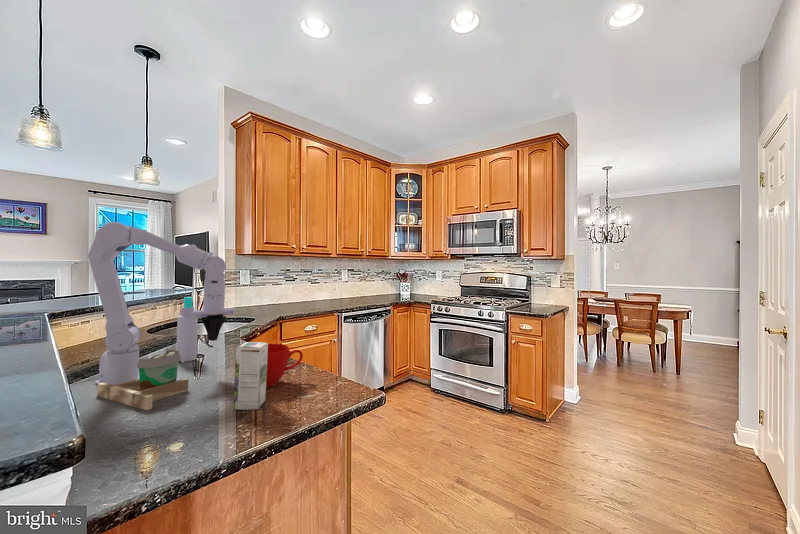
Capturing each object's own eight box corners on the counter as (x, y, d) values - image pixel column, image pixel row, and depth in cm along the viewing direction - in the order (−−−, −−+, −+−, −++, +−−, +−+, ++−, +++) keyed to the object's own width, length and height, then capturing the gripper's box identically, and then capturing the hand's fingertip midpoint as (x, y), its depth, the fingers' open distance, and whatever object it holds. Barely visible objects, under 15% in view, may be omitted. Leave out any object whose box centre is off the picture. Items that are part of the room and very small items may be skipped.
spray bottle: (175, 363, 119) (177, 298, 120) (176, 359, 125) (178, 296, 125) (196, 361, 122) (198, 297, 123) (196, 357, 127) (198, 296, 128)
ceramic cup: (306, 386, 99) (307, 350, 99) (239, 394, 91) (241, 355, 91) (298, 373, 110) (298, 341, 110) (238, 380, 103) (239, 345, 103)
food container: (162, 401, 85) (163, 359, 85) (135, 401, 85) (137, 359, 85) (190, 385, 97) (191, 348, 98) (167, 385, 97) (168, 348, 97)
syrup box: (241, 401, 86) (243, 341, 87) (266, 401, 87) (268, 341, 87) (232, 410, 81) (234, 346, 81) (259, 410, 81) (261, 346, 81)
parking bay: (97, 395, 88) (97, 383, 88) (150, 381, 99) (151, 371, 99) (146, 410, 80) (147, 396, 80) (199, 393, 91) (199, 381, 91)
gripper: (200, 297, 100) (199, 345, 100) (243, 295, 113) (241, 337, 113) (184, 296, 103) (183, 343, 103) (227, 294, 116) (226, 335, 116)
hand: (212, 340), depth 108 cm, fingers closed
